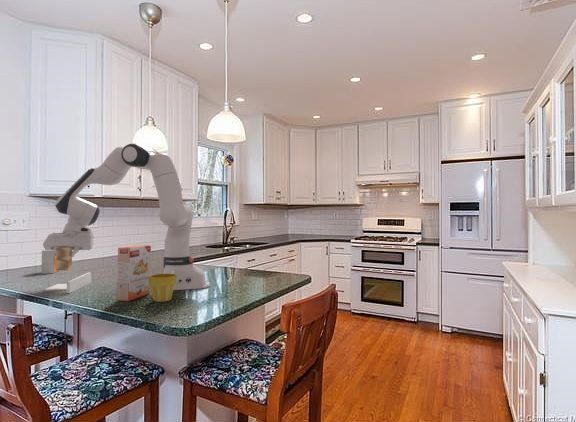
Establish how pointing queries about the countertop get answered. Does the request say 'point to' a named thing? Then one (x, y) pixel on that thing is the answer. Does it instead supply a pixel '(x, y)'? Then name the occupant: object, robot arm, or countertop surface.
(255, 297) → the countertop surface
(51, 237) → the robot arm
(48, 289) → the pad
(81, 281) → the low wall
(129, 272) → the cracker box
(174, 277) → the plant pot
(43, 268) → the small box
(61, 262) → the maple block
